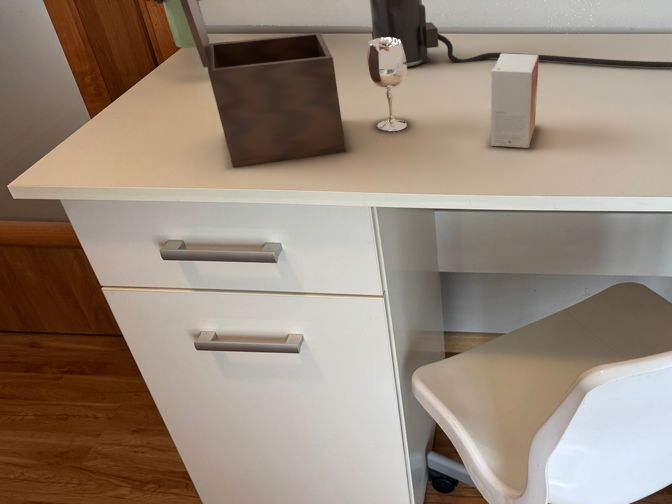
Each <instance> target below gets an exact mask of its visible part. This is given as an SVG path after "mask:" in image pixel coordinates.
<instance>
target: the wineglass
mask: <svg viewBox="0 0 672 504" xmlns="http://www.w3.org/2000/svg"><path fill="white" fill-rule="evenodd" d="M365 65H366V72H367V76H368V78H369V80H370V82H371V83H372V84H373V85H374V86H376V87H378V88H380V89H384V90H386V92H385V97H386V100H387V104H388V112H389V116H388V117H389V118H388V119H384V120H382V121H380V122H379V123H378V124H377V129H378V130H380V131H382V132H398V131H402V130H404V129H405V128H407V126H408V124H407V122H406V121H404V120H402V119H396V118H395V117H394V112H393V98H394V93H393V91H392V90H393V89H395V88H398V87H399V86H401V85H402V84H403V83H404V82H405V81H406V79H407V74H408V67H407V62H406V57H405V52H404V49H403V46H402V43H401V40H399V39H397V38H390V37H384V38H376V39H373V40H372V39H371V40H369V41H368V43H367V49H366V64H365Z"/></svg>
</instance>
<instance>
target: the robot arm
mask: <svg viewBox="0 0 672 504" xmlns="http://www.w3.org/2000/svg"><path fill="white" fill-rule="evenodd" d="M145 1H146V2H150V1H151V0H145ZM197 1H199V2H200V0H197ZM152 2H154V3H155V2H156V3H157V5H163V1H162V0H152ZM369 6H370V7H369V8H370V17H371V27H372V31H371V38H372V39H371V40H373V39H376V38H384V37H390V38H397V39H399V40H401V43H402V46H403V49H404V52H405V57H406V62H407V68H410V67H416V66H418V65H420V64H424V63H428V62H429V53H428V49H432V48H439V41H440V42H442V43H444V45H445V46H446V47H447V58H448V59H449V60H450V61H451V62H452V63H454V64H462V63H472V62H479V61H480V62H481V61H484V60H488V59H499V57H500V54H501V53H502V52H487V53H482V54H478V55H476V56H472V57H469V58H458V57H457V56H455V55H454V54H453V53H454V51H453V50H454V47H453V44H452V41H450V39H448V38H447V37H446V36H444V35H442V34H440V33H439V31H438V29H439V28H438V27H437V26H436V25H435V24H434V23H433V22H432V21H430V22H427V16H426V6H425V5H424V4H423V0H369ZM504 53H505V54H520V53H519V52H518V53H517V52H504ZM526 54H527V55H536V54H534V53H533V54H532V53H526ZM538 55H539V61H544V62H556V63H557V62H559V63H570V64H571V63H572V64H584V65H586V64H587V65H596V66H597V65H598V66H599V65H600V66H612V67H613V66H614V67H616V66H617V67H633V68H634V67H635V68H663V69H664V68H666V69H669V68H671V69H672V61H647V60H646V61H645V60H644V61H643V60H623V59H608V58H592V57H579V56H578V57H576V56H565V55H564V56H562V55H551V54H550V55H549V54H538Z"/></svg>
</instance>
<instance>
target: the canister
mask: <svg viewBox="0 0 672 504" xmlns="http://www.w3.org/2000/svg"><path fill="white" fill-rule="evenodd" d="M162 1H163V3H162V5H163V8H164V11H165V14H166V17H167V18H166V19H167V21H168V25H169V29H170V32H171V35H172V38H173V42H174V44H175V46H176V47H177V48H180V49H181V48H182V49H192V48H197V47H196V45H195V42H194V39H193V36H192V33H191V30H190V28H189V25H188V22H187V19H186V16H185V13H184V11H183V8H182V5H181V2H180V0H162ZM196 2H197V5H198V8H199V11H200V14H201V17H202V20H203V23H204V26H205V29H206V32H207V33H208V31H207V27H206V23H205V19H204V14H203V12H202V8H201V4H200V0H199V1H197V0H196Z"/></svg>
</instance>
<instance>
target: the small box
mask: <svg viewBox="0 0 672 504" xmlns="http://www.w3.org/2000/svg"><path fill="white" fill-rule="evenodd" d="M500 53H501V54H500V57H499V58H497V61H496V62H495V65H494V67H493V68H492V70H491V71H490V79H491V81H490V145H491V147H505V148H506V147H507V148H508V147H509V148H525V149H528V148H530V145H531V142H532V141H531V140H532V138H533V135H534V132H535V129H536V115H537V114H536V112H537V97H538V96H537V95H538V80H539V79H538V77H539V61H540V60H539V55H540V54H535V55H527V54H528V53H519V54H505V53H506V52H500Z"/></svg>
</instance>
